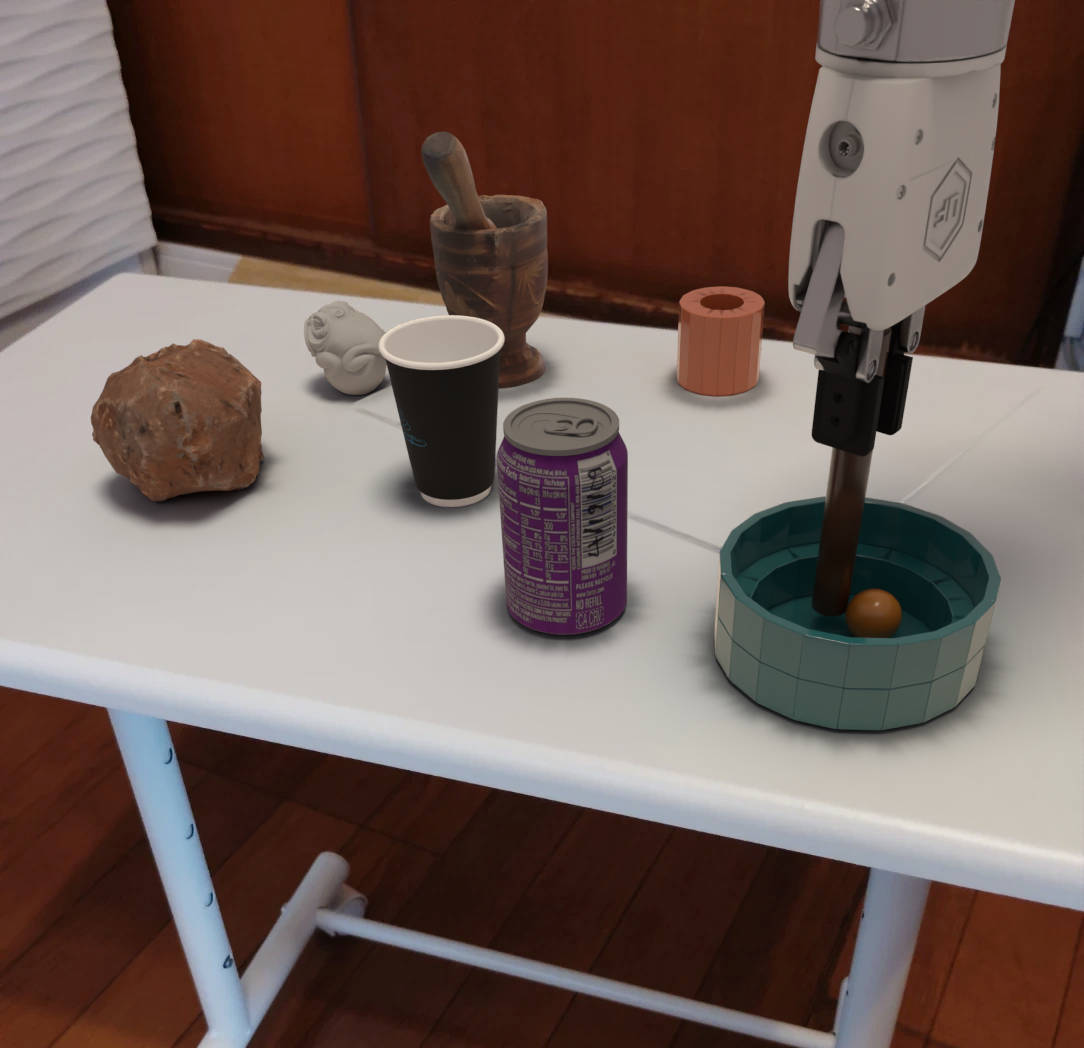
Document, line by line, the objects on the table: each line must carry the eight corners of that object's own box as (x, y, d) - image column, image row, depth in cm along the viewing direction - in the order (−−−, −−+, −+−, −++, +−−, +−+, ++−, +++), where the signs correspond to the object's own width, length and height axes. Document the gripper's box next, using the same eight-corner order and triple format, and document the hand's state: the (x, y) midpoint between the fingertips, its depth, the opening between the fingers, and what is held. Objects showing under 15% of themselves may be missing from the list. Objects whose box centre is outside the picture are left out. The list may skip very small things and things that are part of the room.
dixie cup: (375, 507, 81) (352, 350, 73) (441, 457, 86) (425, 306, 79) (473, 534, 77) (458, 373, 70) (535, 481, 82) (527, 326, 75)
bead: (855, 574, 66) (853, 595, 63) (909, 588, 65) (909, 608, 63) (839, 622, 67) (837, 644, 65) (892, 635, 67) (892, 658, 64)
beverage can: (633, 580, 72) (635, 396, 65) (618, 649, 67) (619, 457, 59) (519, 573, 74) (508, 391, 66) (496, 640, 68) (481, 450, 60)
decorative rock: (234, 536, 78) (200, 394, 72) (80, 524, 80) (33, 385, 74) (304, 444, 88) (279, 311, 82) (164, 436, 90) (130, 306, 84)
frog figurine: (339, 370, 98) (326, 286, 94) (412, 382, 96) (402, 296, 91) (298, 401, 94) (282, 314, 89) (374, 414, 92) (361, 326, 87)
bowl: (800, 559, 74) (810, 472, 70) (1021, 642, 66) (1046, 550, 62) (663, 669, 66) (666, 577, 62) (896, 778, 58) (916, 682, 54)
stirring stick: (822, 592, 67) (861, 316, 57) (854, 604, 66) (899, 326, 56) (804, 608, 66) (840, 330, 56) (836, 621, 65) (879, 340, 55)
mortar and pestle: (549, 421, 89) (537, 135, 77) (435, 423, 90) (405, 139, 77) (554, 358, 98) (545, 92, 85) (451, 360, 99) (426, 96, 86)
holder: (706, 367, 96) (711, 280, 91) (772, 386, 92) (780, 297, 88) (660, 394, 92) (663, 305, 88) (727, 415, 89) (733, 324, 84)
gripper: (902, 67, 41) (840, 526, 53) (1085, -8, 50) (996, 399, 62) (723, 45, 45) (702, 477, 57) (922, -21, 54) (868, 365, 66)
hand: (856, 434), depth 60 cm, fingers closed on stirring stick, 2 cm apart
